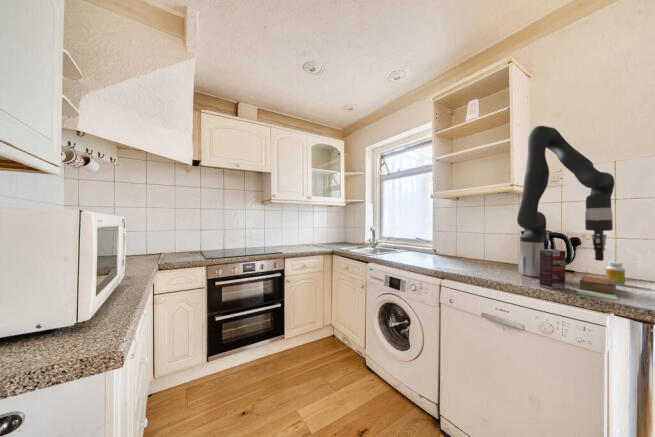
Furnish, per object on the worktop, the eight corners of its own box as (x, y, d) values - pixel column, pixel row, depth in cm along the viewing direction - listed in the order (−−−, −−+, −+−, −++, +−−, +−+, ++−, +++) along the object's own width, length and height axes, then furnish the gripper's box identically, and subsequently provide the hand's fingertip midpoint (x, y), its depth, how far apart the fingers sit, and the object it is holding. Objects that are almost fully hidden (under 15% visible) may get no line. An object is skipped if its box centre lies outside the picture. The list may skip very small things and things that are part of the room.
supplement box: (552, 289, 97) (552, 251, 97) (538, 286, 101) (538, 249, 101) (566, 288, 99) (566, 250, 99) (552, 284, 104) (552, 248, 104)
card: (586, 279, 98) (586, 274, 98) (609, 282, 93) (609, 277, 93) (585, 281, 95) (585, 276, 95) (608, 284, 90) (608, 279, 90)
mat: (577, 293, 91) (577, 292, 91) (577, 290, 96) (577, 289, 96) (617, 300, 84) (617, 299, 84) (615, 295, 89) (615, 295, 89)
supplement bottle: (619, 286, 103) (619, 263, 103) (602, 282, 108) (602, 261, 108) (628, 285, 104) (628, 263, 104) (611, 282, 109) (611, 261, 109)
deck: (584, 284, 105) (584, 275, 105) (615, 289, 98) (615, 279, 98) (579, 289, 96) (579, 280, 96) (614, 295, 89) (614, 284, 89)
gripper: (587, 219, 106) (587, 257, 106) (583, 219, 98) (584, 260, 97) (613, 219, 100) (614, 260, 100) (611, 218, 92) (612, 263, 91)
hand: (599, 260), depth 99 cm, fingers closed
